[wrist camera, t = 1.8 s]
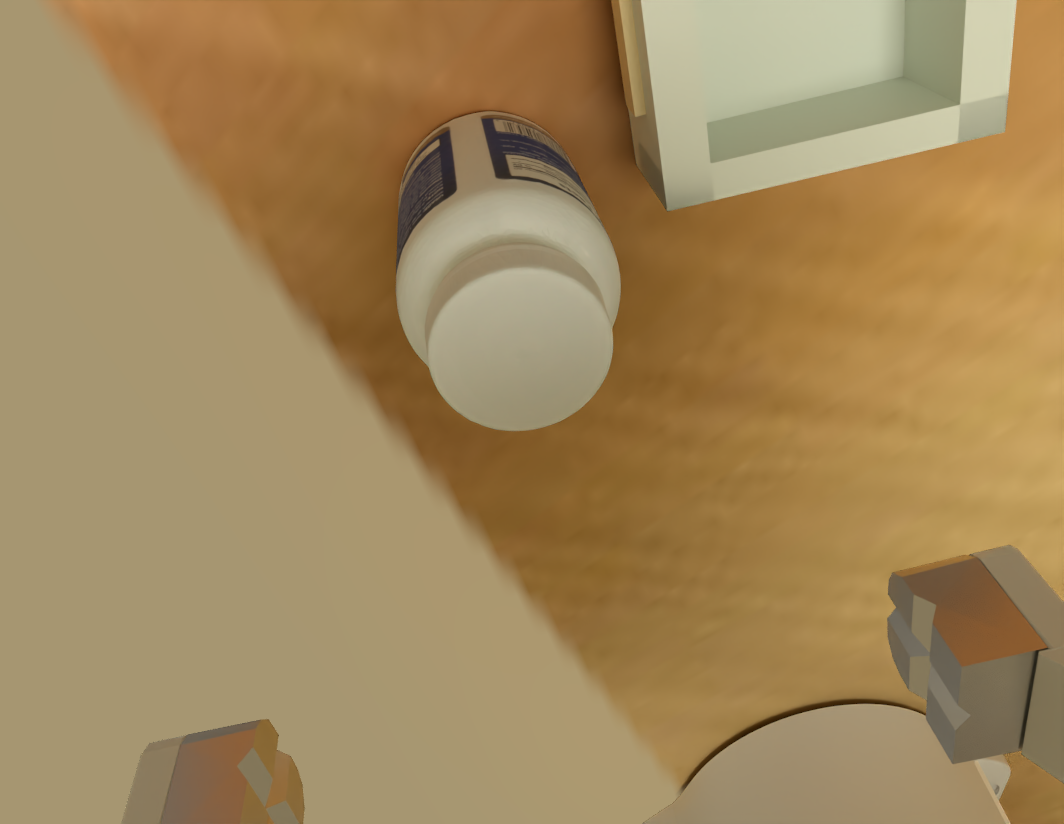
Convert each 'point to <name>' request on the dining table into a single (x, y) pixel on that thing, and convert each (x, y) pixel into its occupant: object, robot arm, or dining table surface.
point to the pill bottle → (504, 273)
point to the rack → (804, 86)
